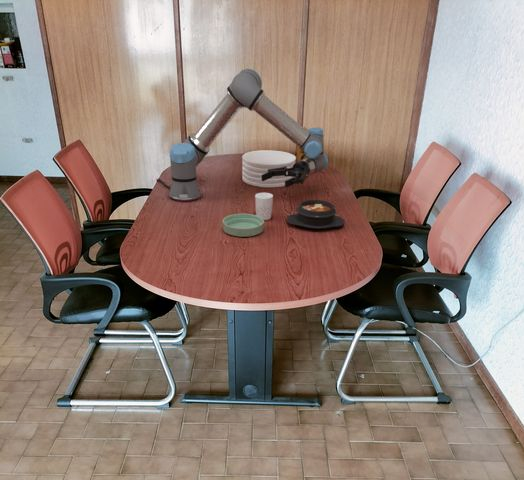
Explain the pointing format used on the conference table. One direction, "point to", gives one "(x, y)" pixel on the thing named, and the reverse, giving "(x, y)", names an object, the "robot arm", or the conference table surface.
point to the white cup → (264, 205)
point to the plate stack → (265, 167)
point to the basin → (243, 225)
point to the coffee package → (300, 153)
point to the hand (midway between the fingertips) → (273, 181)
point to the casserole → (315, 215)
